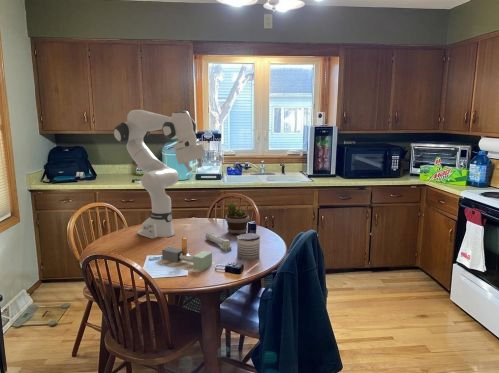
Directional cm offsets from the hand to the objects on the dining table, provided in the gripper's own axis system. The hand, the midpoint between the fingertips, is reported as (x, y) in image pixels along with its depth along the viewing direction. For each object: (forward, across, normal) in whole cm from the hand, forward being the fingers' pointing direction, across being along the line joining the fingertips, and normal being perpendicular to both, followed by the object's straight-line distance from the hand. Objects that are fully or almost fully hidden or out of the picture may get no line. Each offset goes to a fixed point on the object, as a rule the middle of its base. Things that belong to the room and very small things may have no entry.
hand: (195, 169), depth 192 cm
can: (+49, +1, +18) cm, 52 cm away
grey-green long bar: (+45, -8, -4) cm, 46 cm away
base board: (+42, +22, -4) cm, 47 cm away
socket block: (+43, +22, +6) cm, 49 cm away
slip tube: (+39, +21, -6) cm, 45 cm away
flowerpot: (+47, -33, -6) cm, 58 cm away
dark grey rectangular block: (+39, +21, -11) cm, 46 cm away
